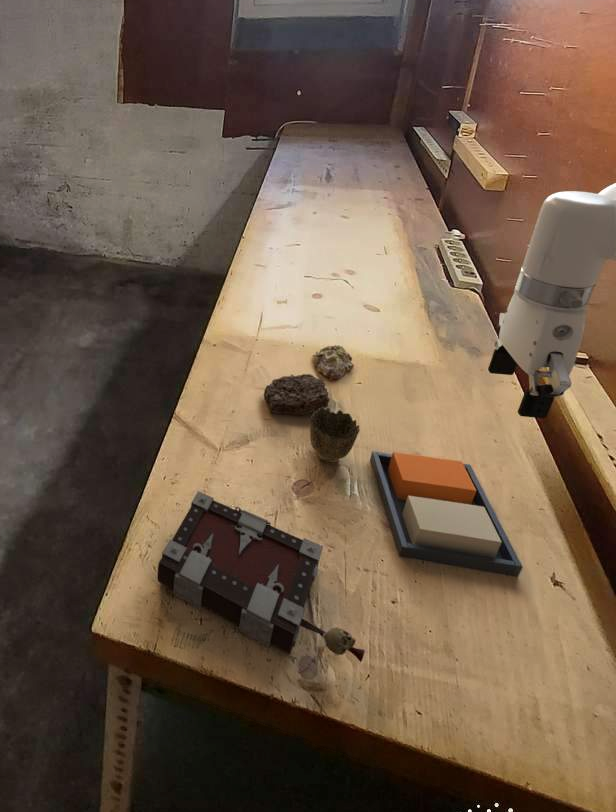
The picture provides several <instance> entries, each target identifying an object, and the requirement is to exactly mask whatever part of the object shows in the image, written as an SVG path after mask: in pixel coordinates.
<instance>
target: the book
mask: <svg viewBox="0 0 616 812" xmlns="http://www.w3.org/2000/svg"><path fill="white" fill-rule="evenodd" d="M214 499H215V498H214V497H212V496H210V495H208V494H206V493H204V492H201V491H199V490H198V491H197V492H196V494H195V496H194V497H193V499H192V500H191V504H190V507H189V510H188V511H187V513H186V515H185V516H184V518H183V520H182V522H181V523H180V525H179V527H178V528H177V530H176V532H175V534H174V536H173V537H172V539H169V540H168V542H167V544H166V546H165V548H164V549H163V551H162V553H161V554H162V555H161V559H160V560H159V562H158V566H157V583H160V584H161V585H163V586H165V587H167V588H168V589H170V590H172V591H173V592H172V593H173V595H174V596H175V597H178V598H180V599H181V600H183V601H185V602H187V603H189V604H190V605H192V606H195V607H196V608H198V609H199V610H200V609H201V607H203V608H205V609H206V610H208V611H210V612H212V613H213V614H216V615H218V616H219V617H221V618H223V619H225V620H227V621H229V622H230V623H232V624H233V625H236V626H237V627H238V631H239V632H241V633H243V634H245V635H247V637H250V638H252V639H254V640H255V641H257V642H259V643H260V644H263V645H264V646H266V647H268V648H270V645H273V646H274V647H276V648H278V649H280V650H281V651H282V652H285V653H286V654H288V655H291V653H292V649H293V648H295V646H296V643H297V639H298V636H299V632H300V630H301V627H302V628H304V629H306V630H309V631H311V632H314V633H316V634H319V636H321V638H323V639H324V641H325V645H326V647H327V649H328V650H329V651H330V652H332V653H334V654H335V655H337V656H339V655H340V656H341V655H344V654H345V652H346V651H348V652H350V653H351V654H352V655H353V656H354V657H355V658H356V659H357V660H358V661H359V662H360V663H361V662H362V661H363V658H364V655H365V649H362V648H357V647H355V644H356V638H355V637H353V635H352V634H351V633H350V632H349V631H346V630H345V629H343V628H341V627H332V628H330V629H329V630H327V631H325V630H323V629H321V628H319V627H318V626H316V625H315V624H313V623H311V622H310V621H308V620H305V618H303V616H304V612H305V605H306V603H307V599H308V596H309V592H310V589H311V585H312V582H313V581H315V578H316V576H317V572H318V569H319V565H320V559H321V555H322V552H323V548H324V546H323V545H321V544H319V543H317V542H314V541H312V540H310V539H307V538H306V537H304V538H303V539H301V538H299V537H297V536H294V535H293V534H290V533H288V532H285V531H283V530H281V529H279V528H277V527H274V526H272V525H271V524H272V523H271V522H270V521H269V520H268V519H266V518H264V517H262V516H259V515H257V514H255V513H252V512H250V511H247V510H245V509H241V507H239V506H236V507H234V508H232V507H229V506H227V505H225V504H222V503H221V502H218V501H216V500H214Z"/></svg>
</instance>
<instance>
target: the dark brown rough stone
mask: <svg viewBox="0 0 616 812" xmlns="http://www.w3.org/2000/svg"><path fill="white" fill-rule="evenodd" d="M263 397H264V398H263V400H264V401H265V403H266V404H265V405H266V408H268V411H269V412H270V413H278V414H294V415H302V416H305V415H308V414H310V413H311V412H314V411H315V410H316V412H318V411H319V409H320V408H324V409H327V408H329V403H330V401H331V399H330V397H329V391H328V389H327V388H326V382H325V380H324V379H323V378H318V377H315V376H314V375H313V374H311V373H308V374H307V373H306V374H304V373H302V374H298V375H288V376H287V375H283V376H281V377H279V378H274V379H272V382H271V383H270V384H268V385H266V386H265V389H264V393H263Z"/></svg>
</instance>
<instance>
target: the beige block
mask: <svg viewBox="0 0 616 812" xmlns="http://www.w3.org/2000/svg"><path fill="white" fill-rule="evenodd" d="M402 515H403V518H404V521H405V524H406V527H407V530H408V533H409V536H410V539H411V542H412V544H415V545H421V546H427V547H433V548H439V549H445V550H451V551H457V552H462V553H468V554H474V555H480V556H486V557H492V558H495V556H496V554H497V552H498V550H499V547H500V545H501V543H502V542H501V540H500V538H499V536H498V534H497V532H496V529H495V527H494V525H493V523H492V521H491V519H490V517H489V515H488V513H487V511H486V509H485V507H482V506H475V505H469V504H462V503H455V502H449V501H442V500H435V499H429V498H422V497H415V496H409V495H408V498H407V501H406V504H405V507H404V510H403V513H402Z"/></svg>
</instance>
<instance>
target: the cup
mask: <svg viewBox="0 0 616 812" xmlns="http://www.w3.org/2000/svg"><path fill="white" fill-rule="evenodd" d="M359 433H360V425H359V424H358V425H357V420H356V419H354V420H353V417H352V416H351V414H350V413H349V412H347V413H344V412H343V410H341V409H338V410H337V412H336V413H335V412H334V411H331V410H330V407H326V408H323V407H322V408H320V409H319V410H318V411H316V410H315V411H313V414H311V416H310V429H309V434H310V435H309V438H310V443H311V447H312V448H313V450H314V451H315V453H316V456H317V458H318V459H319V460H320V461H322V462H324V463H327V464H335V463H337V462H339V460H341V459H343V458H345V457H346V456H348V455H349V453H350V452H351V450H352V449H353V446H354V444H355V443H356V440H357V437H358V435H359Z"/></svg>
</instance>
